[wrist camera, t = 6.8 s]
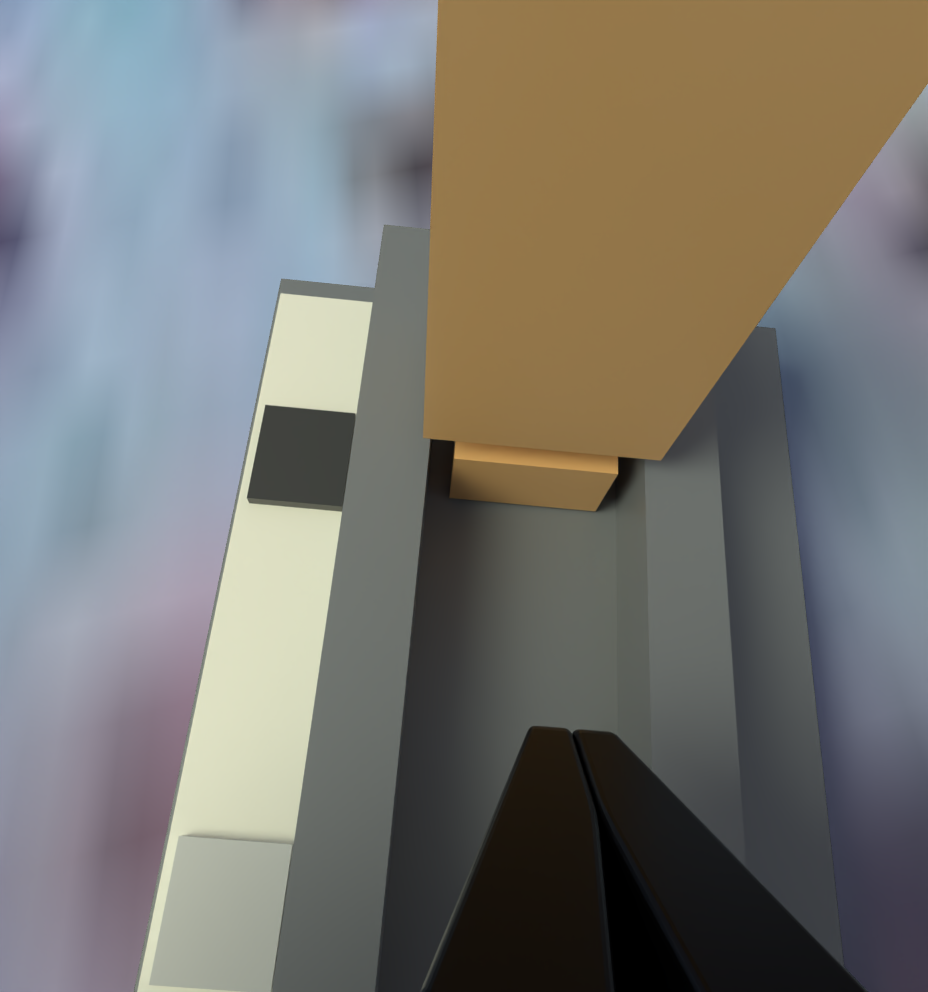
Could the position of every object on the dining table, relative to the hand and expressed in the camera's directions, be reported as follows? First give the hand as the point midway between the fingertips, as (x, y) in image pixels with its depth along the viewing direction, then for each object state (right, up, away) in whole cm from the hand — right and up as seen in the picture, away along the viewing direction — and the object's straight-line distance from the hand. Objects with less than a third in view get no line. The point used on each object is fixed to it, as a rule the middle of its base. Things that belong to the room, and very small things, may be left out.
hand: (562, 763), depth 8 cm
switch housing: (0, -1, +6) cm, 6 cm away
